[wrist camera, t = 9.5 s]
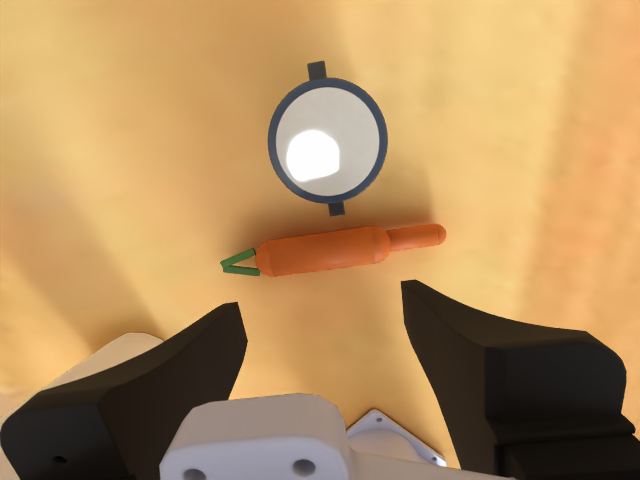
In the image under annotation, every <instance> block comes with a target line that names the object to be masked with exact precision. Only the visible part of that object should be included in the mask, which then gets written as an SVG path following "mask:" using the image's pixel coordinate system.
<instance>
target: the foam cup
mask: <svg viewBox="0 0 640 480" xmlns="http://www.w3.org/2000/svg"><path fill="white" fill-rule="evenodd" d="M163 342H164V341H162V340H161V339H159V338H157V337H154V336H151V335H149V334H146V333H127V334H125V335H122V336H120V337H118V338H116V339H114V340H113V341H112V342H110V343H108V344H107V345H105V346H104V347H102V348H101V349H99V350H98V351H96V352H95V353H93V354H92V355H91V356H89V357H88V358H86V359H85V360H83V361H82V362H80V363H79V364H77V365H76V366H74V367H73V368H72V369H70V370H69V371H67V372H66V373H64V374H63V375H61V376H60V377H58V378H57V379H55V380H54V381H53V382H51V383H50V384H48V385H47V386H45V387H44V388H42V389H41V390H39V391H38V392H40V391H42V390H45V389H49V388H52V387H55V386H59V385H62V384H65V383H68V382H72V381H75V380H78V379H81V378H84V377H87V376H90V375H92V374H95V373H98V372H100V371H103V370H106V369H108V368H111V367H113V366H116V365H118V364H120V363H122V362H125V361H127V360H129V359H131V358H133V357H136V356H138V355H140V354H142V353H144V352H146V351H148V350H150V349H152V348H154V347H156V346H158V345H159V344H161V343H163ZM38 392H36V393H35V394H37V393H38ZM35 394H34V395H35ZM34 395H32V396H31V397H29V398H28V399H26V400H25V401H23V402H22V403H20V404H19V405H17V406H16V407H15V408H13V409H12V410H10V411H9V412H7V413H6V414H4V415H3V416H2V417H0V430H1V427H2V424H3V423H4V422H5V421H6V419H7V418H8V417H9V416H10V415H12V414H13V413H14V412H15V411H16V410H17V409H19V408H20V407H21V406H22V405H23V404H25V403H26V402H27V401H28V400H29V399H30V398H32V397H33V396H34ZM0 480H20V478H19V477H18V475H17V474H16V472H15V470H14V469H13V467H12V466H11V464H10V462H9V461H8V459H7V457H6V456H5V454H4V452H3V450H2V448H1V445H0Z"/></svg>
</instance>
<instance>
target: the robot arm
mask: <svg viewBox="0 0 640 480" xmlns="http://www.w3.org/2000/svg"><path fill="white" fill-rule="evenodd" d="M401 289H402V301H403V314H404V324H405V327H406V330H407V333H408V336H409V339H410V342H411V345H412V347H413V349H414V351H415V353H416V355H417V357H418V359H419V361H420V363H421V365H422V367H423V370H424V372H425V374H426V376H427V378H428V380H429V382H430V384H431V386H432V388H433V391H434V393H435V395H436V397H437V400H438V403H439V406H440V408H441V411H442V414H443V417H444V420H445V422H446V425H447V428H448V431H449V434H450V437H451V440H452V443H453V445H454V448H455V451H456V454H457V457H458V460H459V463H460V467H461V470H460V469H455V468H449V467H445V466H446V465H447V462H446V460H445V458H444V457H442V456H441V455H440V454H438V453H437V452H436V451H434V450H433V449H431V448H430V447H429V446H427V445H426V444H424V443H423V442H422V441H420V440H419V439H417V438H416V437H415V436H413V435H412V434H411V433H409V432H408V431H406V430H405V429H404V428H402V427H401V426H399V425H398V424H397V423H395V422H394V421H393V420H391V419H390V418H388V417H387V416H386V415H384V414H383V413H381V412H380V411H379V410H376V409H373V410H371V411H370V412H368V413H367V414H366V415H365V416H364V417H363V418H361V419H360V420H359V421H358V422H357V423H355V424H354V425H353V426H352V427H351V428H349V429H348V430H347V431H346V426H345V421H344V419H343V417H342V415H341V413H340V411H339V410H338V408H337V406H336V405H334V404H333V403H331V402H329V401H328V400H326V399H324V398H323V397H321V396H319V395H311V394H302V393H295V394H285V395H275V396H265V397H255V398H245V399H235V400H228V398H229V396H230V393H231V391H232V388H233V386H234V383H235V381H236V378H237V376H238V373H239V371H240V368H241V366H242V363H243V360H244V356H245V352H246V347H247V343H248V340H247V336H246V332H245V329H244V325H243V321H242V317H241V313H240V309H239V306H238V302H233V303H225V304H222V305H220V306H219V307H217V308H215V309H214V310H212V311H211V312H209V313H208V314H206V315H205V316H203V317H202V318H200V319H199V320H198V321H196V322H195V323H193V324H192V325H190V326H189V327H187V328H186V329H184V330H182V331H181V332H179V333H178V334H176V335H174V336H173V337H171V338H170V339H168V340H166V341H165V342H163V343H161V344H159V345H158V346H156V347H154V348H152V349H150V350H148V351H146V352H144V353H142V354H140V355H138V356H136V357H133V358H131V359H129V360H127V361H125V362H122V363H120V364H118V365H116V366H113V367H111V368H108V369H106V370H103V371H100V372H98V373H95V374H92V375H90V376H87V377H84V378H81V379H78V380H75V381H72V382H68V383H65V384H62V385H59V386H55V387H52V388H49V389H45V390H42V391H40V392H38V393H37V394H35V395H34V396H33V397H32V398H30V399H29V400H28V401H27V402H26V403H25V404H23V405H22V406H21V407H20V408H19V409H17V410H16V411H15V412H14V413H13V414H12V415H10V416H9V417H8V418H7V419H6V421H5V422H4V423H3V424H2V427H1V430H0V445H1V448H2V450H3V452H4V454H5V456H6V457H7V459H8V461H9V462H10V464H11V466H12V467H13V469H14V470H15V472H16V474H17V475H18V477H19V478H20V480H640V441H639V440H638V439H637V438H636V437H635V436H634V435H633V434H632V433H635V430H636V429H635V427H634V425H633V424H632V423H631V422H630V421H629V420H628V419H627V418H626V417H625V416H623V415H622V414H621V410H622V404H623V399H624V393H625V387H626V369H625V366H624V363H623V361H622V359H621V358H620V357H619V356H618V355H617V354H616V353H615V352H614V351H613V350H611V349H610V348H609V347H607V346H606V345H604V344H603V343H602V342H600V341H599V340H597V339H596V338H595V337H593V336H592V335H591V334H589V333H588V332H586V331H579V330H570V329H561V328H552V327H545V326H540V325H534V324H528V323H523V322H519V321H514V320H510V319H506V318H503V317H499V316H495V315H492V314H489V313H486V312H483V311H480V310H477V309H474V308H472V307H469V306H467V305H464V304H462V303H460V302H458V301H455V300H453V299H451V298H449V297H447V296H445V295H443V294H441V293H440V292H438V291H436V290H434V289H432V288H430V287H429V286H427V285H425V284H423V283H421V282H420V281H418V280H408V281H401Z"/></svg>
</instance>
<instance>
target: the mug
mask: <svg viewBox="0 0 640 480" xmlns="http://www.w3.org/2000/svg"><path fill="white" fill-rule="evenodd" d="M307 67H308V73H309V80H310V81H308V82H305V83H303V84H301V85H299V86H298V87H296V88H294V89H293V90H292V91H291V92H289V93H288V94H287V95H286V96H285V97H284V99H283V100H282V101H281V102H280V104H279V105H278V107H277V108H276V110H275V112H274V114H273V117H272V119H271V122H270V127H269V132H268V150H269V156H270V160H271V163H272V165H273V168H274V170H275V172H276V174H277V175H278V177H279V178H280V180H281V181H282V182H283V183H284V184H285V186H286V187H287V188H288V189H290V190H291V191H292V192H293V193H295V194H296V195H298V196H300V197H302V198H304V199H306V200H309V201H312V202H316V203H325V204H328V207H329V213H330V216H331V217H332V216H338V215H344V214H345V210H344V202H343V201H346V200H348V199H351V198H353V197H355V196H357V195H358V194H360V193H361V192H363V191H364V190H365V189H366V188H367V187H368V186H369V185H370V184H371V183H372V182H373V181H374V180H375V178H376V177H377V175H378V174H379V172H380V170H381V168H382V166H383V163H384V160H385V157H386V152H387V144H388V136H387V128H386V124H385V120H384V117H383V115H382V113H381V110H380V109H379V107H378V105H377V104H376V102H375V101H374V100H373V98H372V97H371V96H370V95H369V94H368V93H367V92H366V91H364V90H363V89H362V88H360V87H359V86H357V85H355V84H353V83H351V82H349V81H346V80H343V79H338V78H327V76H326V68H325V62H324V61H319V62H313V63H308V64H307Z"/></svg>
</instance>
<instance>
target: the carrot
mask: <svg viewBox="0 0 640 480" xmlns="http://www.w3.org/2000/svg"><path fill="white" fill-rule="evenodd" d="M445 238H446V231H445V229H444V228H443V227H442V226H441V225H439V224H429V225H422V226H415V227H408V228H401V229H394V230H387V231H384V230H383V229H381V228H379V227H375V226H368V227H361V228H354V229H347V230H340V231H333V232H326V233H319V234H312V235H305V236H298V237H291V238H284V239H277V240H271V241H267V242H265V243H263V244H262V245H261V246H260V247H259V248H258V250H257V251H256V252H255V250H254V248H251V249H248V250H246V251H244V252H241V253H239V254H237V255H234V256H232V257H230V258H227V259H225V260H223V261H221V262H220V263H221V265H222V267H223V272H225V273H235V274H244V275H253V276H260V271H261V272H262V273H263V274H264V275H267V276H271V277H277V276H284V275H292V274H299V273H306V272H314V271H321V270H329V269H336V268H344V267H351V266H359V265H366V264H374V263H378V262H380V261H382V260H384V259H385V258H386V257H387V256H388V254H389V252H391V251H398V250H406V249H413V248H420V247H428V246H435V245H439V244H441V243H443V241H444V240H445ZM254 255H255V263H256V266H257V268H251V267H242V266H233V264H235V263H237V262H240V261H242V260H245V259H247V258H249V257H252V256H254Z"/></svg>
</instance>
